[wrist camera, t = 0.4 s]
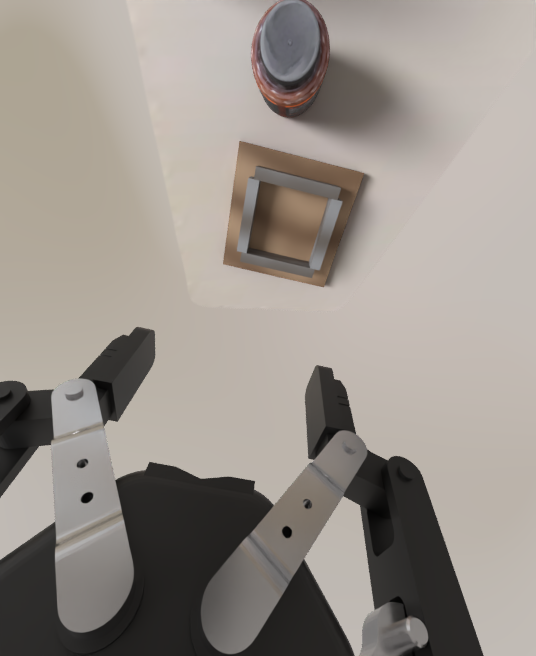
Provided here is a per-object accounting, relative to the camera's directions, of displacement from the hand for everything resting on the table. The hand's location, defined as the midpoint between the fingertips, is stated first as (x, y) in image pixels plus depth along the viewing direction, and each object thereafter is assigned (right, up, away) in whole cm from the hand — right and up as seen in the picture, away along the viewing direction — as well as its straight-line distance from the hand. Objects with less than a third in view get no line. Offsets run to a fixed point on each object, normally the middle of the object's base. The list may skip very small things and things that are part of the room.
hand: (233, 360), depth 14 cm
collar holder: (+4, +15, +21) cm, 26 cm away
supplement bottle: (+4, +26, +14) cm, 30 cm away
